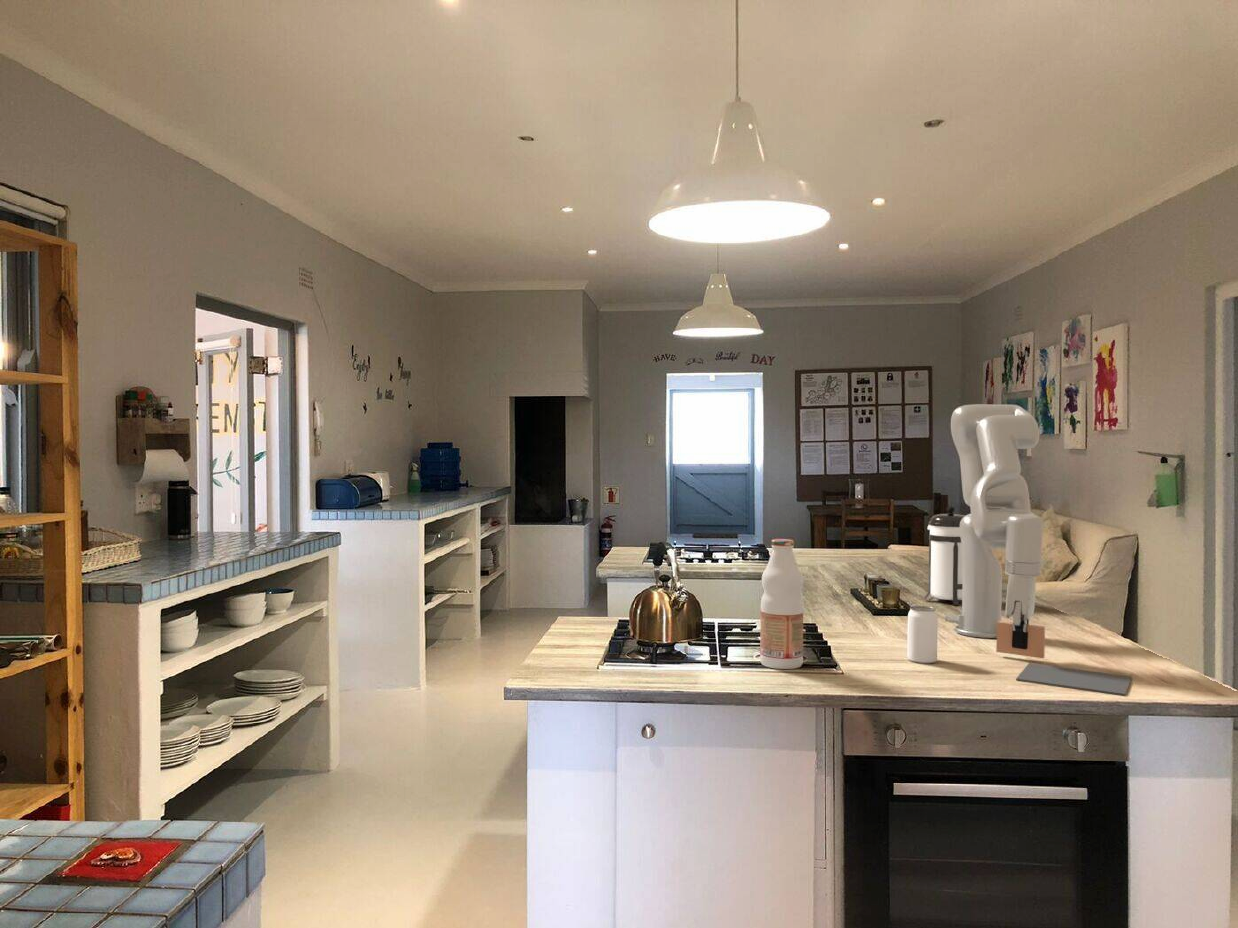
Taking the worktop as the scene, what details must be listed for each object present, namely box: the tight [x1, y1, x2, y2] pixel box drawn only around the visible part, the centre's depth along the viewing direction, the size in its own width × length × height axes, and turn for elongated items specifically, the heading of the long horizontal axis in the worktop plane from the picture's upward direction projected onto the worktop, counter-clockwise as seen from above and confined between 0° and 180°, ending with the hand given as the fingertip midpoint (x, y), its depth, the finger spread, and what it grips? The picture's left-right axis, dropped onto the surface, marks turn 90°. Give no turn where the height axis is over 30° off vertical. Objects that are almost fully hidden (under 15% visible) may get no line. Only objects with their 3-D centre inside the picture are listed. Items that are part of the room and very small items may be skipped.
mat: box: [1015, 662, 1132, 697], centre depth 188 cm, size 20×16×1 cm
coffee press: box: [924, 505, 965, 607], centre depth 277 cm, size 17×16×30 cm
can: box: [906, 605, 939, 665], centre depth 204 cm, size 6×6×12 cm
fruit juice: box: [759, 538, 804, 670], centre depth 199 cm, size 9×9×28 cm
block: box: [995, 620, 1046, 659], centre depth 205 cm, size 10×2×7 cm, turn 56°
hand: (1020, 646), depth 205 cm, fingers closed on block, 1 cm apart
